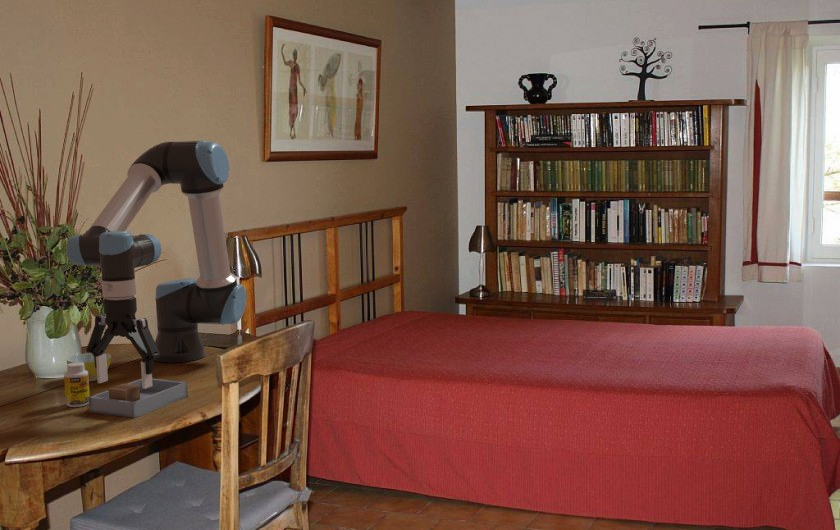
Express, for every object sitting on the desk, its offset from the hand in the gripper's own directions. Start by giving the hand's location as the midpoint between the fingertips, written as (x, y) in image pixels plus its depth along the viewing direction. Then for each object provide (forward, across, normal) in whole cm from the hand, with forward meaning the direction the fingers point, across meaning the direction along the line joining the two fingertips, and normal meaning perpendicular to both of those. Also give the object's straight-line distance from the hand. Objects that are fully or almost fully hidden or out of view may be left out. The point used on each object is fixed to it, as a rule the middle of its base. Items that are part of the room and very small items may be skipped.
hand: (124, 384), depth 219 cm
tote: (+6, 0, +5) cm, 8 cm away
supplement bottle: (+6, -14, -1) cm, 15 cm away
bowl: (+6, -29, +19) cm, 35 cm away
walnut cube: (+5, 0, 0) cm, 6 cm away
